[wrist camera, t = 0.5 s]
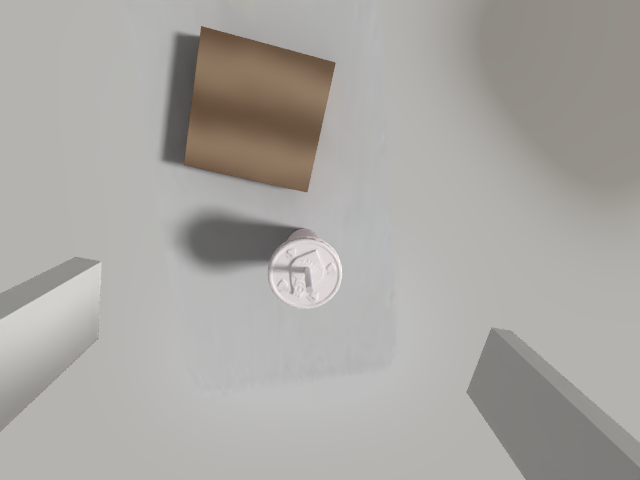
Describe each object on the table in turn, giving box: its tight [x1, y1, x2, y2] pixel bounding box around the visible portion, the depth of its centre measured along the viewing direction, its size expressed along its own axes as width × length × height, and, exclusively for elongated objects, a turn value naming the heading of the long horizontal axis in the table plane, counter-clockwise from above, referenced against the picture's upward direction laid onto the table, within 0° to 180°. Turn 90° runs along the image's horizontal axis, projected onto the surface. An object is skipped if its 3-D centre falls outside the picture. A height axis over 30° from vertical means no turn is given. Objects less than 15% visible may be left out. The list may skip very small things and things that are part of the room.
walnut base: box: [184, 26, 335, 192], centre depth 32 cm, size 12×12×3 cm
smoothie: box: [268, 229, 342, 309], centre depth 31 cm, size 6×6×14 cm
